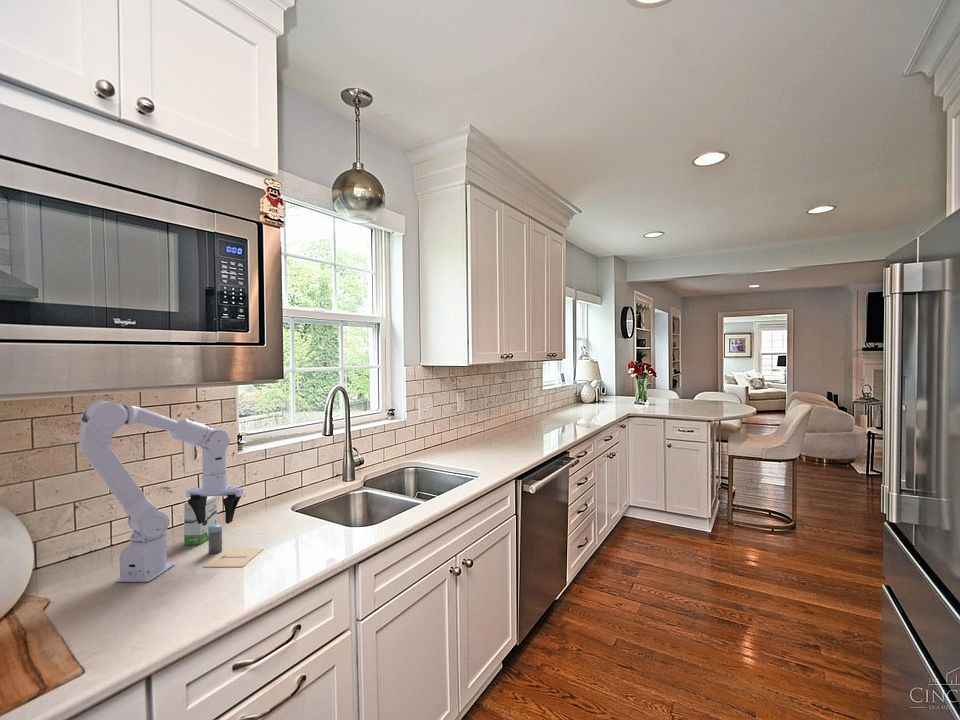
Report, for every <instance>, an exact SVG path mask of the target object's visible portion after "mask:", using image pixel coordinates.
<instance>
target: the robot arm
mask: <svg viewBox="0 0 960 720" xmlns="http://www.w3.org/2000/svg"><path fill="white" fill-rule="evenodd" d="M79 420H80V428H79V429H80V431H79V440H78V448H79V451H80V452H81V453H82V454H83V456H84V457H85V459H86V460H87V461H88V462H89V464H90V465H91V466H92V468H93V469H94V471H96V473H97V474H98V476H99V477H100V478H101V480H102V481H103V483H104V484H105V485H106V487H107V488H108V489H109V491H110V492H111V494H112V495H113V496H114V497H115V499H116V500H117V501H118V502H119V504H120V505H121V506H122V508H123V512H124V513H125V514H126V516H127V524H128V526H129V527H130V529H132V530H133V531H132V533H131V535H130V540H129V542H128V544H127V546H126V547H124V548H123V549H122V550H121V552H120V553H119V578H117V579H116V582H117V583H124V582H125V583H130V582H131V583H132V582H133V583H138V582H139V583H143V582H144V583H148V582H150V581H152V580H153V579H155V578H157V577H158V576H160V575H162V574H164V572H166V571H167V570H169V569H171V568H172V567H174V566H175V565H176V562H167V561H168V557H167V555H168V554H167V531H168V528H169V526H170V519H169V516H168V515H167V514H166V513H164V512H162V511H159V510H158V509H157V507H156V506H155V505H154V504H153V503H152V502H151V501H150V500H149V499H148V497H147V496H146V495H145V494H144V492H143V491H142V490H141V488H140V486H139V485H138V484H137V482H136V481H135V480H134V479H133V477H132V475H131V474H130V473H129V471H128V470H127V469H126V467H125V466H124V464H123V463H122V461H120V459H119V457H118V456H117V454H116V453H115V452H114V450H113V449H112V448H111V446H110V445H111V442H112V440H113V438H114V436H115V434H116V432H117V431H118V430H120V428H121V427H122V426H123V425H128V426H130V425H134V424H135V425H136V424H142V425H145V426H150V427H153V428H157V429H160V430H162V431H167V432H169V433H170V434H171V436H172V439H173V440H177V441H181V442H184V443H185V444H190V445H193V446H196V447H200V448H201V450H202V451H201V453H202V457H201V460H202V465H201V466H202V487H191V488H188V489H186V492H185V493H186V494H185V495H186V498H189V499H187V502H188V503H189V505H190V506H191V507H192V509H193V511H194V513H195V515H196V518H197V521H198V524H201V523H203V522H205V508H206V501H207V496H217V497H225V498H222V503H223V506H224V512H225V514H224V516H225V518H224V519H225V524H227V525H229V524H230V523H232V522H233V521H234V516H235V512H236V509H237V506H238V504H239V502H240V500H241V498H242V496H244V487H235V486H228V485H227V483H228V482H227V481H228V480H227V479H228V478H227V468H228V467H227V448H228V447H229V445H230V443H231V438H230V437H229V434H228V433H227V432H226V431H225V430H222V429H218V428H214V427H213V425H212V424H209V423H208V424H207V425H206V424H204V423H202V422H197V420H196V418H195V417H194V418H193V417H188V418H187V417H182V418H180V419H176V420H175V419H172V418H170V417H168V416H165V415H162V414H159V413H156V412H155V411H151V410H149V409H146V408H143V407H139V406H134V405H129V404H123V403H120V402H115V401H109V400H106V399H105V400H103V399H100V400H95V401H92V402H91V403H89V404H88V405H87V406H86V408H85V410H84V411H83V413H82V415H81V416H80V419H79Z"/></svg>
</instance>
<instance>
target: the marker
mask: <svg viewBox="0 0 960 720" xmlns="http://www.w3.org/2000/svg"><path fill="white" fill-rule="evenodd" d="M208 533H209V539H208V554H209V555H217V554H220V553H222V552H223V524H221V523H217V524H214V525H211V526H209V527H208ZM221 551H222V552H221ZM219 552H220V553H219ZM216 553H217V554H216Z"/></svg>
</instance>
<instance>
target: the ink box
mask: <svg viewBox="0 0 960 720" xmlns="http://www.w3.org/2000/svg"><path fill="white" fill-rule="evenodd" d="M183 510H184V511H183V512H184V513H183V514H184V517H183V518H184V519H183V533H184V534H183V535H184V536H183V538H184V541H183V543H184V545H191V546H192V545H194V546H195V545H202V544H203V543H205V542H206V540H207V541H209V533H208V527H209V526H211V525H214V524H218V496H207V501H206V508H205V522H203V523H201V524H198V521H197V518H196V515H195V513H194V511H193V509H192V507H191V506H190V505H189V503H188V501H186V502H184V509H183ZM201 543H202V544H201Z"/></svg>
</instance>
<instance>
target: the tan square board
mask: <svg viewBox="0 0 960 720" xmlns="http://www.w3.org/2000/svg"><path fill="white" fill-rule="evenodd" d="M263 550H264V548H227V549H225V550H223V551H222V552H220V553H219V555H217V556H216V557H214V558H213V559H211V560H210V561H209V562H207V563H206V564H205V565H203V566H202V567H203V568H243V567H245V566H246V565H247V564H248V563H250V562H251V561H252V560H253V559H254V558H255V557H256V556H257V555H259V554H260V553H261V552H262V551H263ZM251 559H252V560H251ZM246 563H247V564H246ZM245 564H246V565H245ZM244 565H245V566H244Z"/></svg>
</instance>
